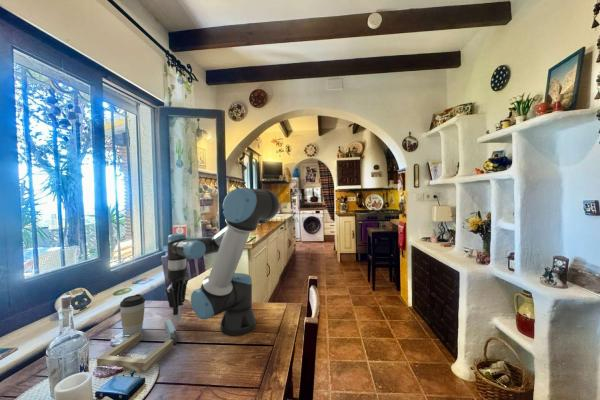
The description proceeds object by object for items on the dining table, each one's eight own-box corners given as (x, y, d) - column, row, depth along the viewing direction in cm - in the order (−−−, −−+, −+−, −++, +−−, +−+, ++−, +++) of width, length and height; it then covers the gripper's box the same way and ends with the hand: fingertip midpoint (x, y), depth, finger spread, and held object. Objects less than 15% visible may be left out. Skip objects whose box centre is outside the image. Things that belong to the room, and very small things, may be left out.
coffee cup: (132, 339, 101) (132, 301, 101) (114, 336, 103) (114, 300, 103) (150, 328, 110) (150, 293, 110) (132, 326, 112) (132, 292, 112)
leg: (176, 341, 99) (176, 331, 99) (170, 343, 98) (170, 332, 98) (170, 328, 109) (170, 318, 109) (165, 329, 108) (165, 320, 108)
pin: (177, 343, 98) (177, 330, 98) (174, 345, 96) (174, 332, 96) (173, 343, 98) (173, 330, 98) (170, 345, 96) (170, 332, 97)
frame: (178, 343, 98) (178, 335, 98) (145, 372, 81) (145, 363, 81) (137, 339, 101) (137, 332, 101) (96, 367, 84) (96, 358, 84)
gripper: (178, 264, 120) (178, 313, 120) (159, 272, 107) (159, 327, 107) (193, 264, 119) (193, 314, 118) (175, 272, 106) (175, 328, 106)
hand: (177, 320), depth 113 cm, fingers closed
